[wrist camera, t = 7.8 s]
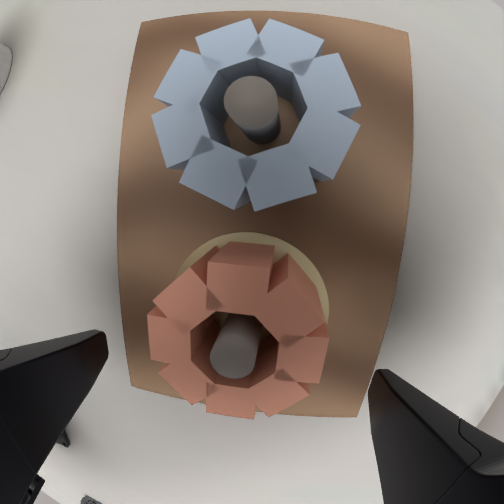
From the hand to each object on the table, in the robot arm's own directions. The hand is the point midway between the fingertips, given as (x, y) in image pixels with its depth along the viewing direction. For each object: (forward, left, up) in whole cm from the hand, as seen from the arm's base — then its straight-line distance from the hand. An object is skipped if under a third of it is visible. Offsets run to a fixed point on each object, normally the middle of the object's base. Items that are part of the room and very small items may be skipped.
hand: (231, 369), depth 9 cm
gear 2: (0, 0, -4) cm, 5 cm away
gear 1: (+8, 0, -5) cm, 9 cm away
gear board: (+4, 0, -6) cm, 7 cm away
